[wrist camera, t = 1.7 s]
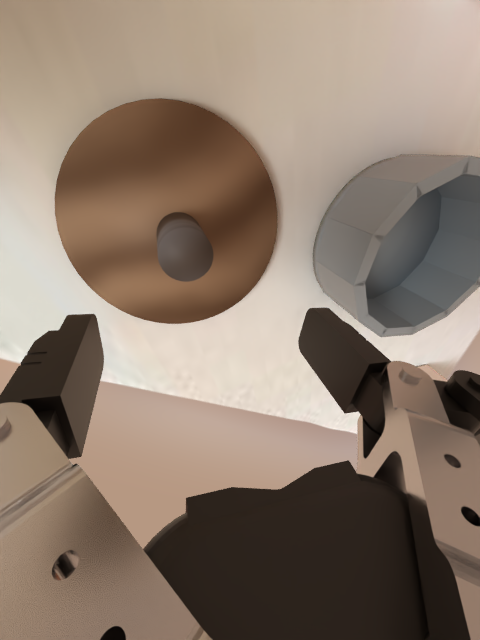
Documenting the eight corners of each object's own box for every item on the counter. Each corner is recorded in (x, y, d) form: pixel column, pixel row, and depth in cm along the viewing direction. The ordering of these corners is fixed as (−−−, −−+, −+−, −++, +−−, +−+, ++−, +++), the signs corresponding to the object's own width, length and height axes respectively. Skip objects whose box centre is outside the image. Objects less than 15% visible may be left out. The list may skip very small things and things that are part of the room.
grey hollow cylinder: (297, 204, 23) (344, 221, 17) (447, 125, 23) (542, 117, 17) (326, 322, 32) (363, 359, 26) (434, 266, 32) (495, 291, 26)
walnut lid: (-4, 174, 17) (-69, 185, 12) (226, 51, 17) (257, 10, 12) (148, 343, 27) (148, 387, 22) (292, 268, 27) (324, 295, 22)
